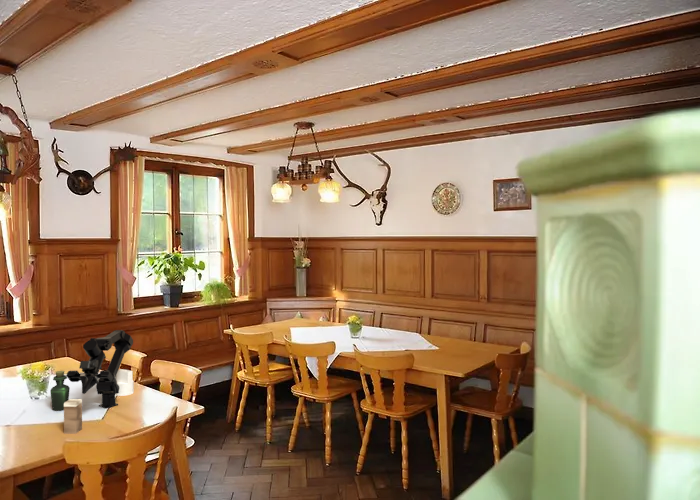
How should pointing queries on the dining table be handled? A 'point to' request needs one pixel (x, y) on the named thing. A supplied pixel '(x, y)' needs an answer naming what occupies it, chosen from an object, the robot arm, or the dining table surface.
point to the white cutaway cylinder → (125, 382)
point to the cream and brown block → (72, 416)
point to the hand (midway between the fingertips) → (83, 393)
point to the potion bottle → (59, 392)
